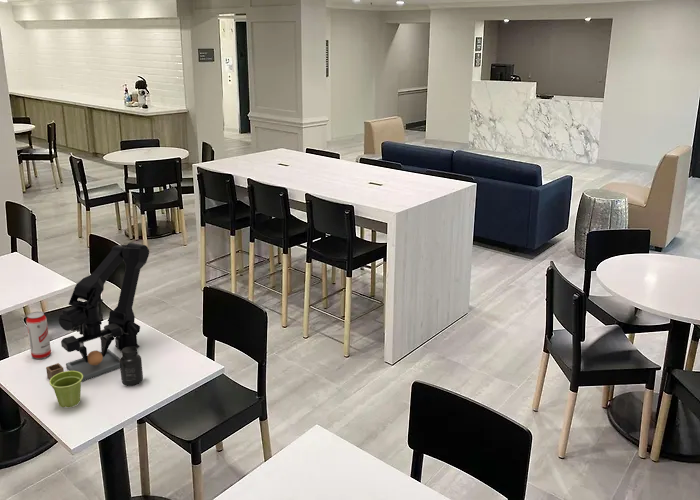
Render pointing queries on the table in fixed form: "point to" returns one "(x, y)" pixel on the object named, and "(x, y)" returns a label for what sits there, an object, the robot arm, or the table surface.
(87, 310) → the robot arm
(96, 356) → the ball
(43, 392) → the table surface
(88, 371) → the tray
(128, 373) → the supplement bottle
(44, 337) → the beer can
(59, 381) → the plant pot
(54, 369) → the brown wooden open cube
